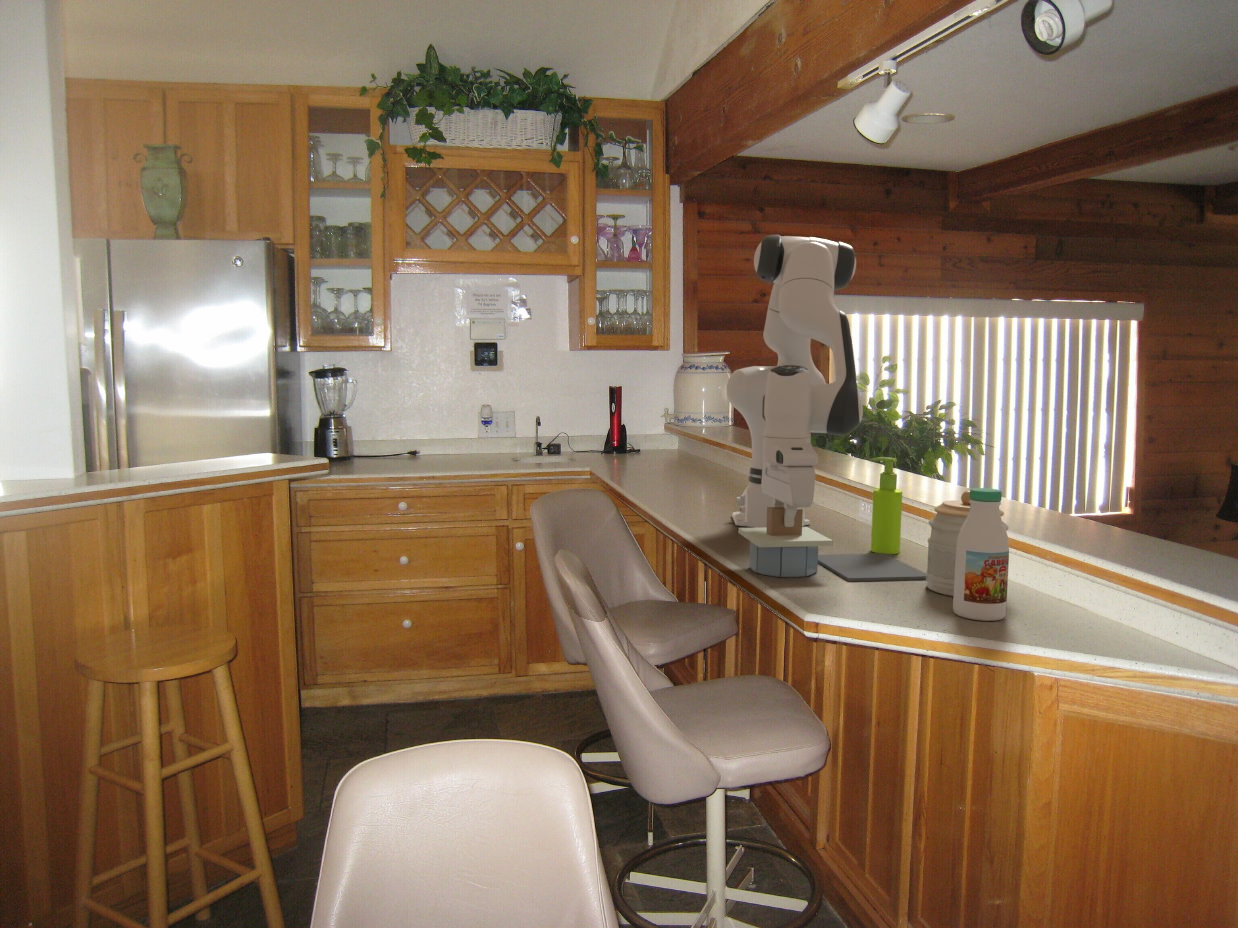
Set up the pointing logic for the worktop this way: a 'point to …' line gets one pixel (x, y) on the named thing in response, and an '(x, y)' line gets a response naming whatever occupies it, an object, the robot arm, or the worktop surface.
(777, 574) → the bowl
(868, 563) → the mat
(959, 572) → the milk bottle
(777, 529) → the cover
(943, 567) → the jar
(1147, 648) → the worktop surface
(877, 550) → the soap dispenser
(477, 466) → the worktop surface
